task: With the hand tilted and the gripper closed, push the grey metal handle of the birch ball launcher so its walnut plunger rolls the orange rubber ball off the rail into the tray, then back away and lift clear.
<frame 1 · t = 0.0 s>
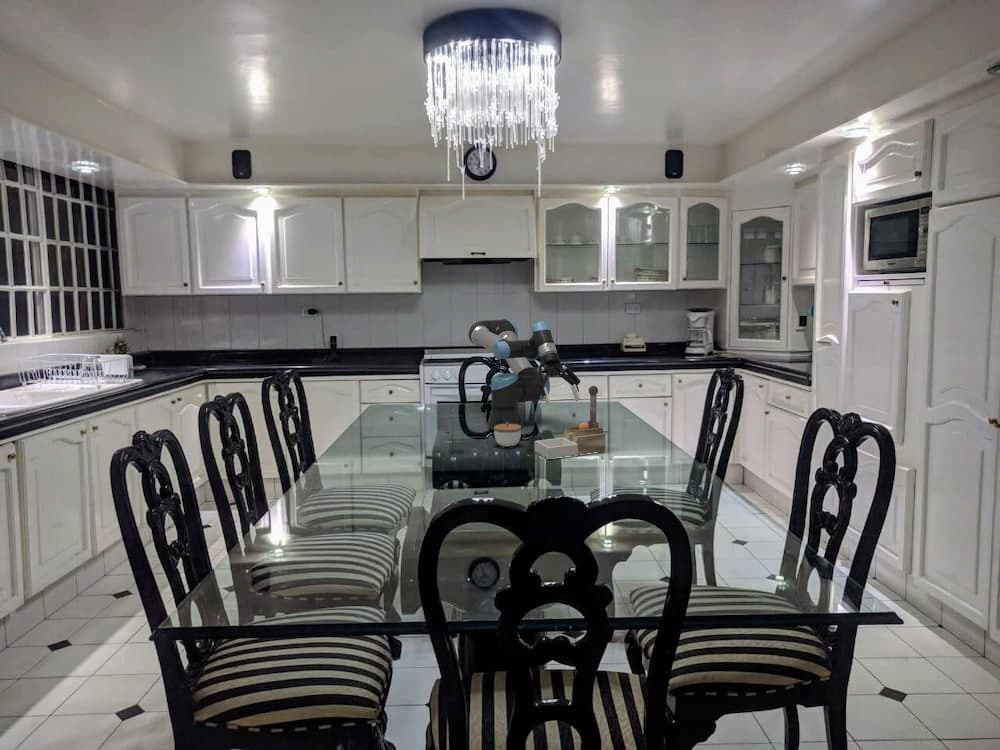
hand: (563, 401, 296), 15 cm above the table, tool tilted 35°, fingers open, 13 cm apart
ball: (584, 427, 277), point 9 cm above the table, touching launcher
launcher: (583, 450, 278), on the table
lidded jar: (507, 446, 287), on the table
tray: (556, 454, 273), on the table
plunger: (593, 408, 277), point 16 cm above the table, slide at 0.0 cm
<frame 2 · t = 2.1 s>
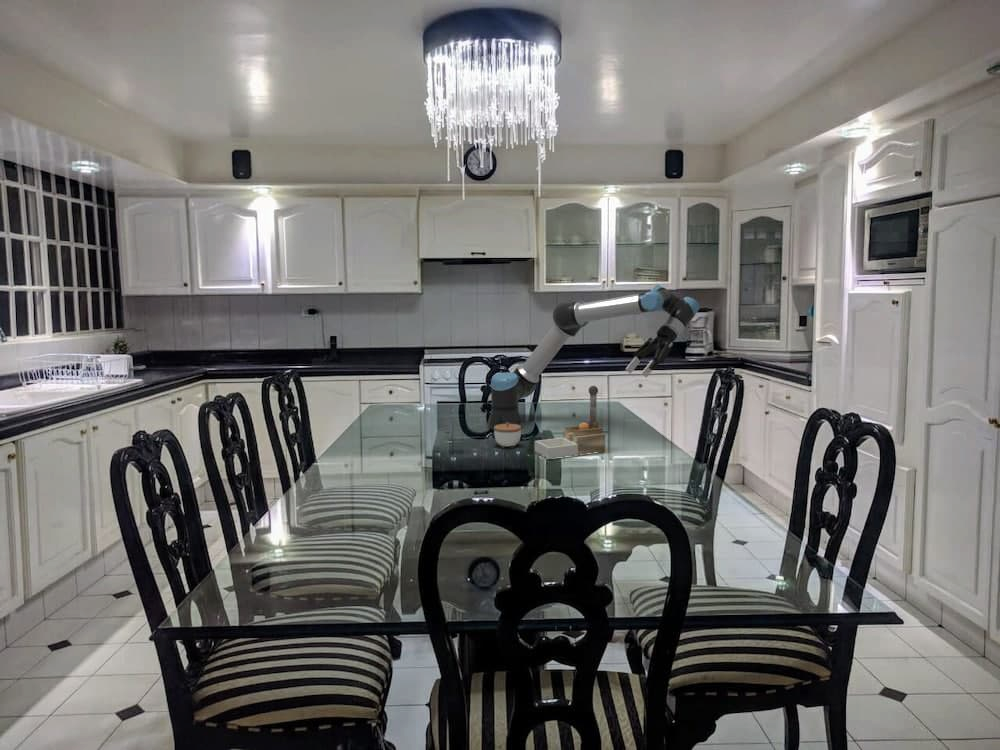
hand: (635, 373, 282), 28 cm above the table, tool tilted 45°, fingers open, 10 cm apart
nothing on the table moved.
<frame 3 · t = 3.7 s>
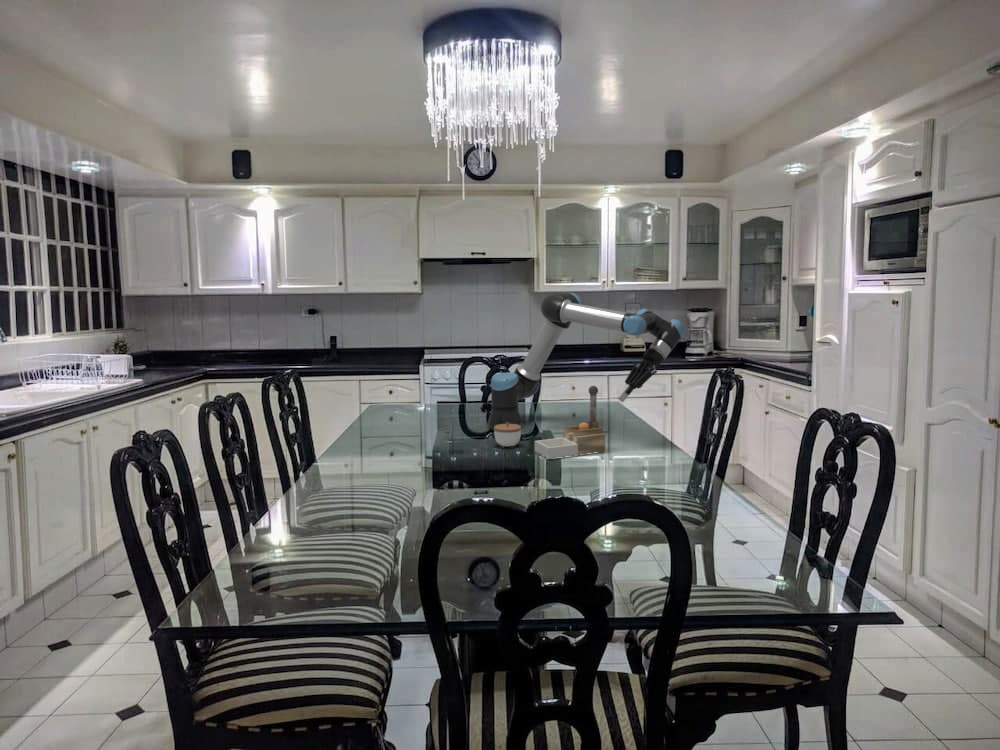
hand: (620, 399, 280), 19 cm above the table, tool tilted 45°, fingers closed
nothing on the table moved.
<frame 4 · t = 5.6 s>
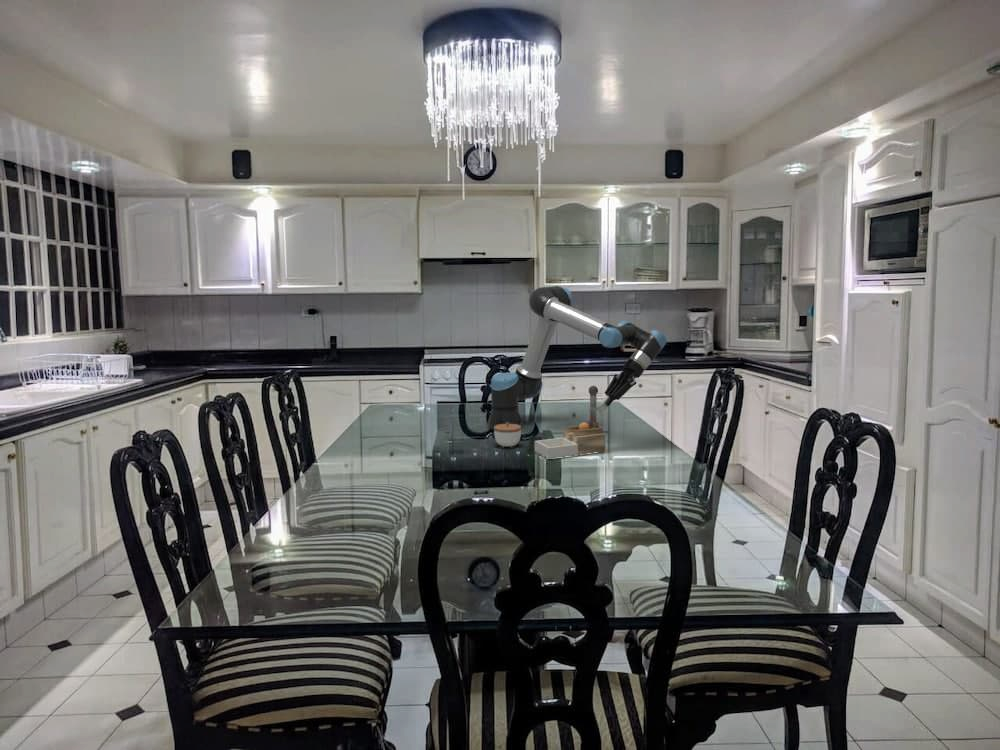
hand: (599, 411, 278), 15 cm above the table, tool tilted 45°, fingers closed
plunger: (593, 408, 277), point 16 cm above the table, slide at 0.0 cm, touching gripper
everything else where it was.
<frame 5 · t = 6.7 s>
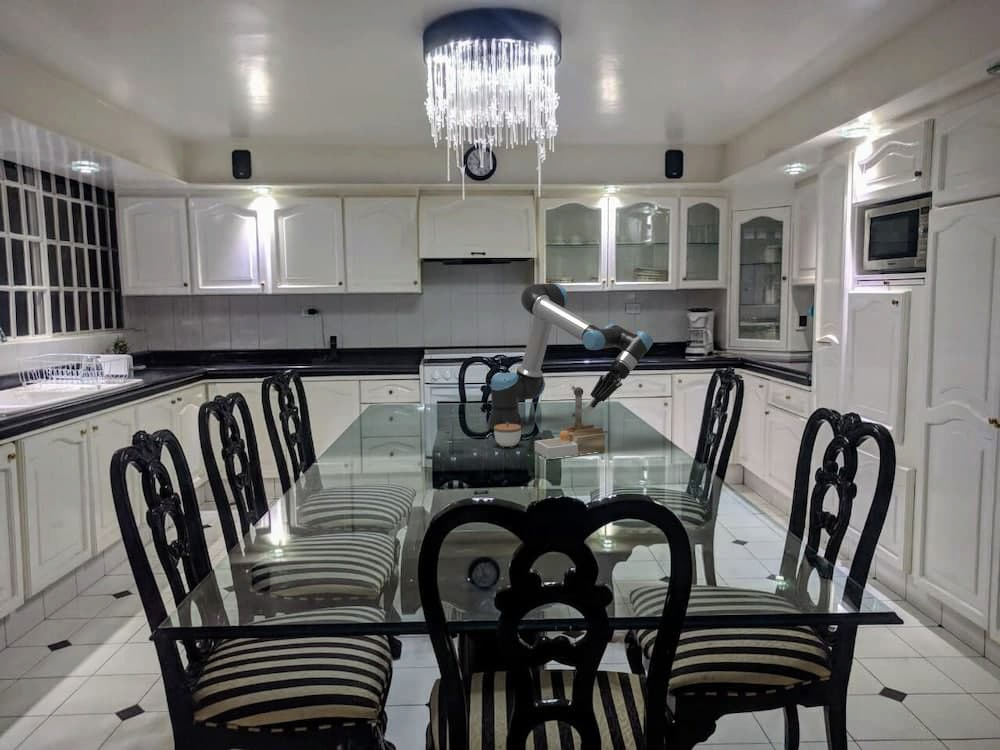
hand: (585, 412, 275), 15 cm above the table, tool tilted 45°, fingers closed
ball: (564, 435, 274), point 7 cm above the table, tilted 106°
plunger: (578, 410, 275), point 16 cm above the table, slide at 6.4 cm, touching gripper
everything else where it was.
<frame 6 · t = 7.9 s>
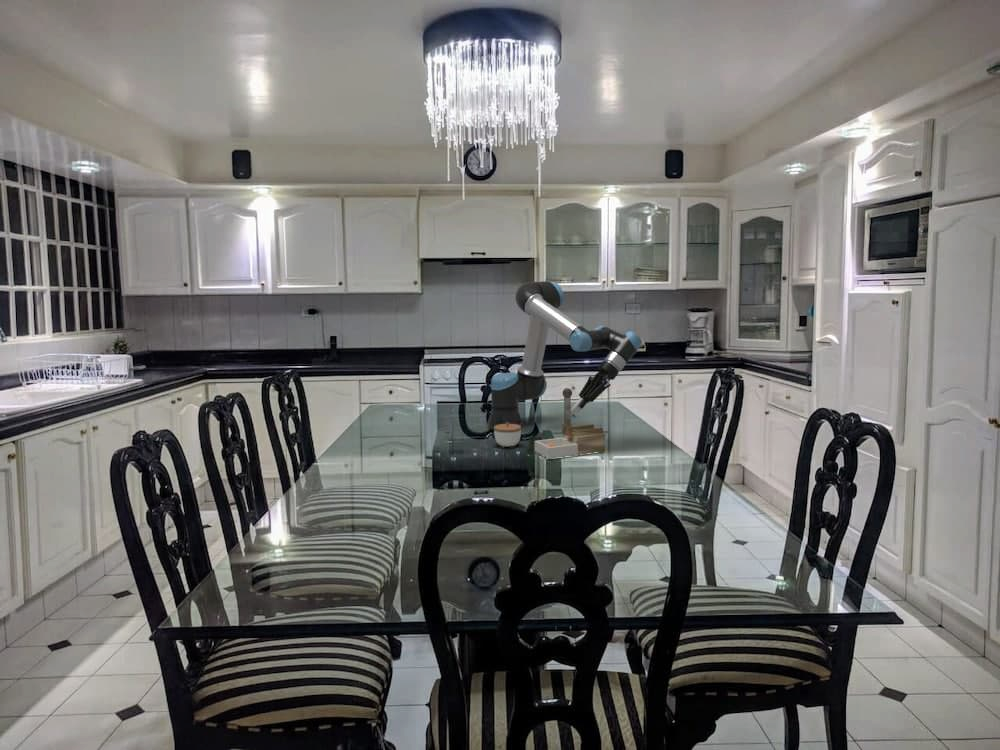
hand: (573, 413, 274), 15 cm above the table, tool tilted 45°, fingers closed
ball: (549, 448, 272), point 2 cm above the table, tilted 132°, touching tray
plunger: (567, 411, 273), point 16 cm above the table, slide at 11.2 cm, touching gripper
everything else where it was.
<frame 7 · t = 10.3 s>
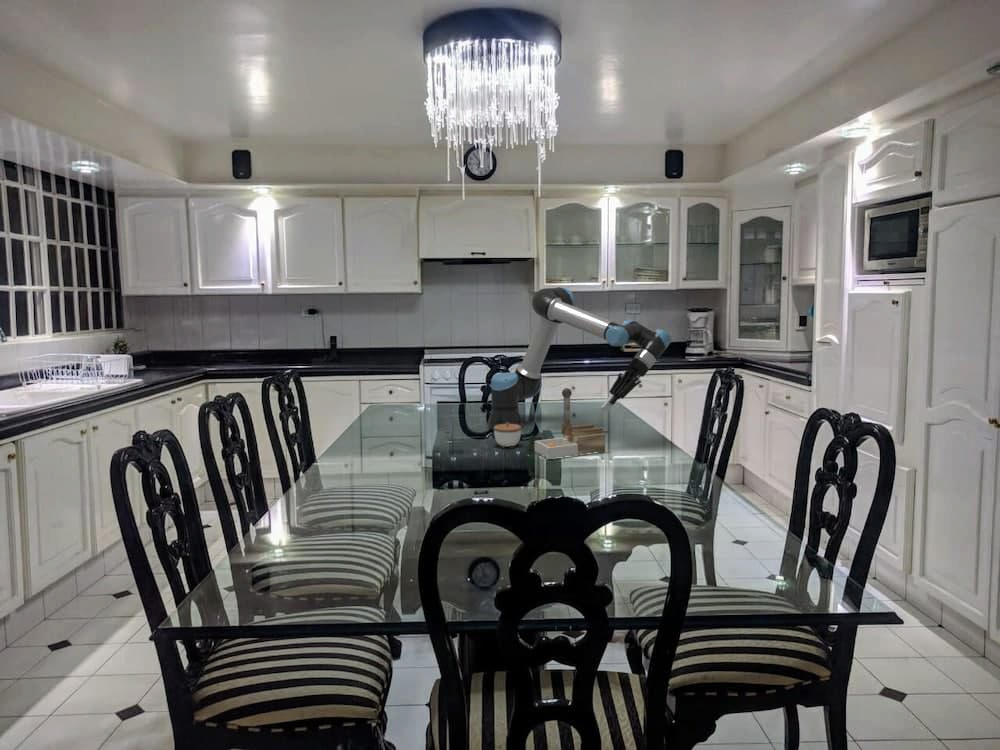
hand: (604, 409, 279), 15 cm above the table, tool tilted 45°, fingers closed
ball: (550, 448, 272), point 2 cm above the table, tilted 117°, touching tray
plunger: (566, 411, 273), point 16 cm above the table, slide at 11.4 cm
everything else where it was.
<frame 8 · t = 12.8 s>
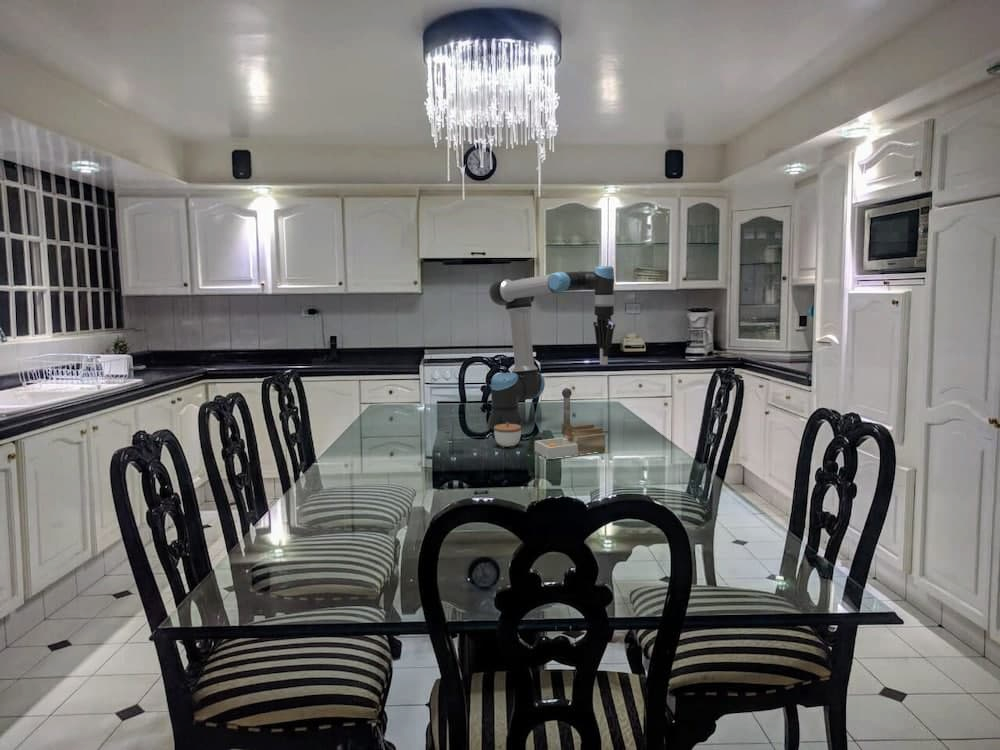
hand: (603, 364, 293), 30 cm above the table, tool pointing down, fingers closed
ball: (552, 448, 272), point 2 cm above the table, tilted 101°, touching tray
everything else where it was.
at the end: ball inside the target area on the tray (1.6 cm from its centre), point 2.5 cm above the tray's base; plunger slide at 11.4 cm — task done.
